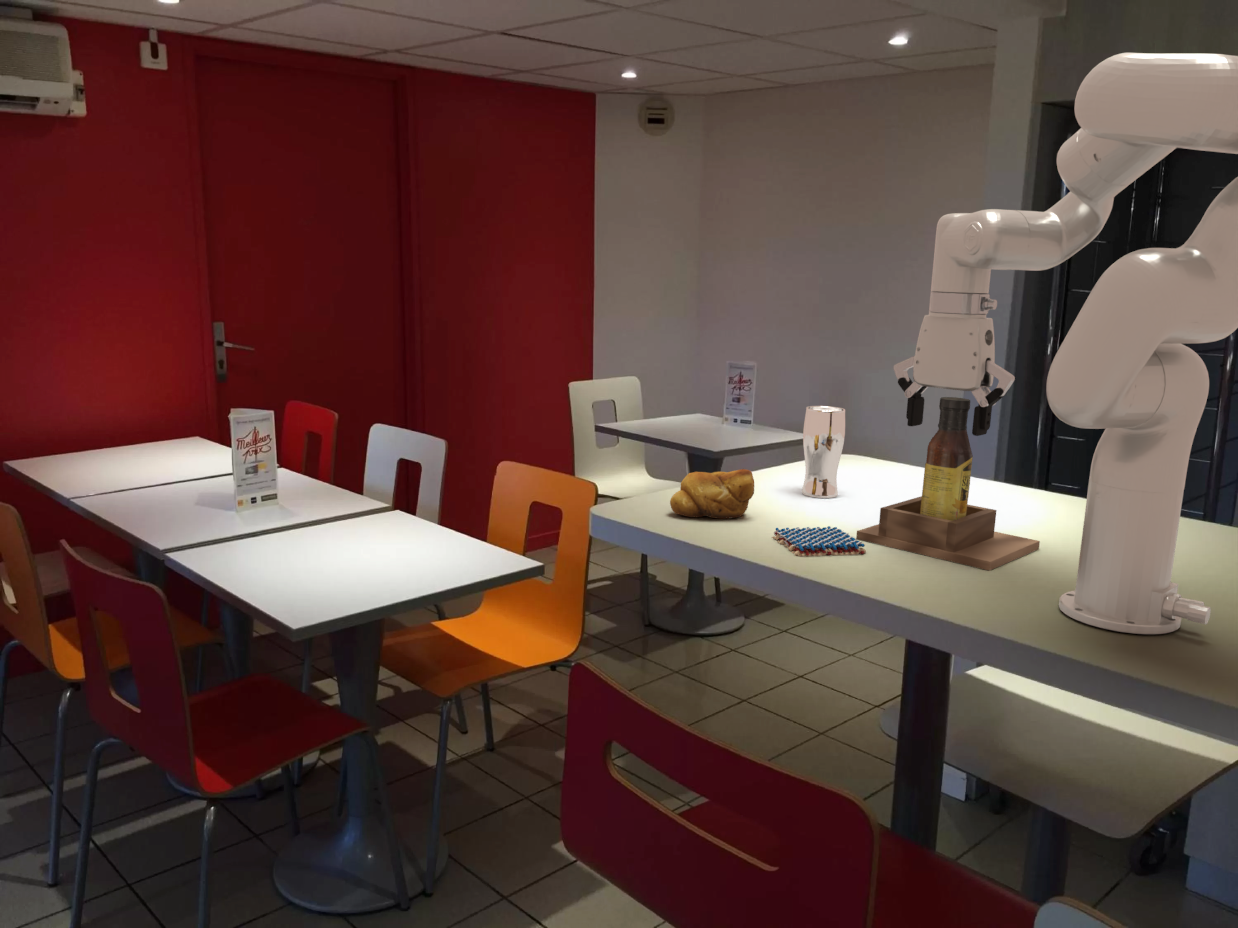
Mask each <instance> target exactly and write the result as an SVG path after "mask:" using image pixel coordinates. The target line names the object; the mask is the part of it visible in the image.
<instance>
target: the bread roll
mask: <svg viewBox="0 0 1238 928" xmlns="http://www.w3.org/2000/svg"><path fill="white" fill-rule="evenodd" d="M753 475H754V474H753V472H752V470H749V469H745V468H742V469H741V468H740V469H737V470H732V471H728V472H727V471H713V472H706V471H694V472H689V473H687V474H686V475H685V477H684V478H683V479H682V481H681V482H680V490H678V491H676V492H675V493H674V494H673V495H672V496H671V498H670V500H669V504H670V508H671V510H672V511H673V512H674V513H675V514H676V515H680V516H685V517H687V518H688V517H689V518H702V517H705V516H706V517H709V518H712V519H721V520H724V519H725V520H729V519H736V518H739V517H742V515H744V513H745V512H747V509H748V508H749V503H750V500H751V499H752V498H753V496H754V494H755V479H754V476H753Z"/></svg>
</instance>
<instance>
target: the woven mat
mask: <svg viewBox="0 0 1238 928" xmlns="http://www.w3.org/2000/svg"><path fill="white" fill-rule="evenodd" d="M773 535H774V536H772V537H771V539H774V540H776V542H777V544H778V543H779V544H780V545H784V547H785V548H786V547H787V549H788V550H789V551H790V552H791V554H794V555H795V556H797V557H814V556H815V557H816V556H817V557H818V556H819V557H820V556H842V555H843V556H847V555H848V556H849V555H850V556H851V555H864V554H865V553H867V551H866V549H865V548H864V547H865V546H866V545H865V544H864V543H863V541H861V540H858V539H857V538H856V537H854V536H850V534H849V532H848V533H847V532H845V531H844V530H842V529H840V528H838V526H835V527H831V526H827V527H820V526H816V527H812V528H811V527H810V526H807V527H803V528H800V527H796V528H795V527H793V528H791V529H790V528H789V527H785V528H780V529H779V527H776V528H775V531H774V532H773Z"/></svg>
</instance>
